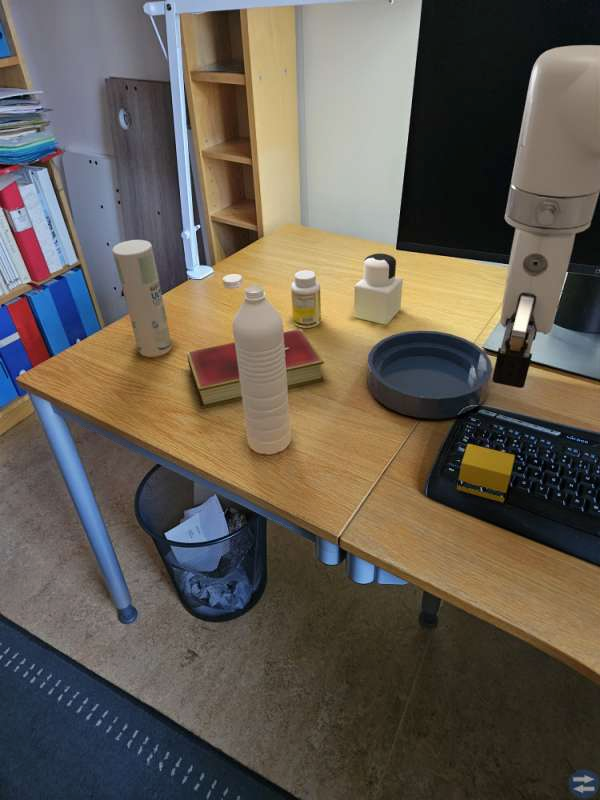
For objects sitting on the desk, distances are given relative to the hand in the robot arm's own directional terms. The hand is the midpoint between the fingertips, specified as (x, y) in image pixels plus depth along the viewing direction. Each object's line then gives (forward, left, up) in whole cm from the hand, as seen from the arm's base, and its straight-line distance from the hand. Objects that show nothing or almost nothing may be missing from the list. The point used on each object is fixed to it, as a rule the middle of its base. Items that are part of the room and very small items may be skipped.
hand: (514, 359), depth 62 cm
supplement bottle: (+40, -32, -20) cm, 55 cm away
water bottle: (+32, +2, -20) cm, 38 cm away
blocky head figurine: (+28, -40, -20) cm, 53 cm away
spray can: (+63, -13, -20) cm, 68 cm away
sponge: (0, 0, -20) cm, 20 cm away
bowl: (+13, -20, -20) cm, 31 cm away
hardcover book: (+41, -12, -20) cm, 47 cm away
